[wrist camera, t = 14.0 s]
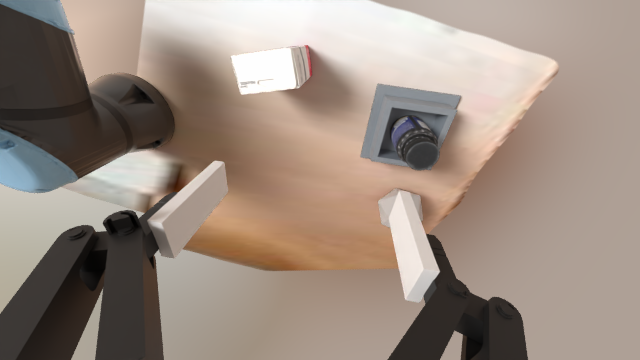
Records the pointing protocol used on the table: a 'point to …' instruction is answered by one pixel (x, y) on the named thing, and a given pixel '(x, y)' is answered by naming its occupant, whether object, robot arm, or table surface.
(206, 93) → the table surface
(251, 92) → the ink box
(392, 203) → the die
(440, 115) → the well
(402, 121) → the pill bottle
